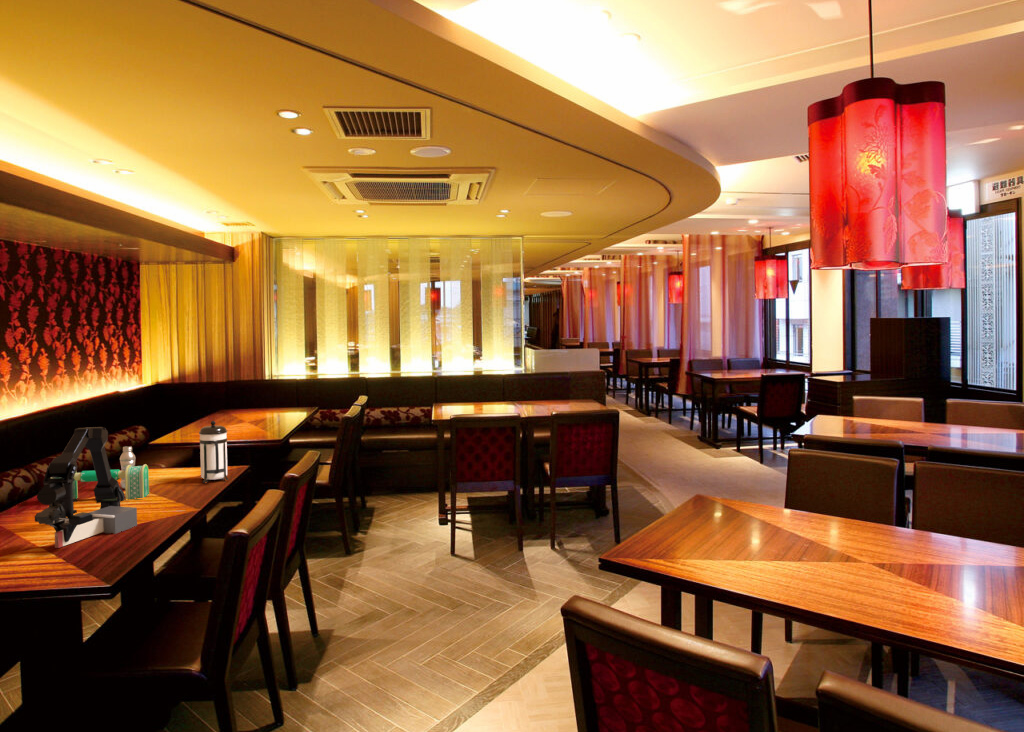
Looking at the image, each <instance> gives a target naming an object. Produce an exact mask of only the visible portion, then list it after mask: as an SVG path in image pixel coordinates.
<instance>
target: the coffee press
mask: <svg viewBox="0 0 1024 732" xmlns="http://www.w3.org/2000/svg"><path fill="white" fill-rule="evenodd" d="M227 434H228V430H227V428H226V427H225V426H223V425H216V421H215V420H212V421H210V425H206V426H203V427H202V428H200V429H199V431H198V435H199V449H200V452H199V454H200V456H199V457H200V479H201V478H203V479H204V480H202V483H203V484H206V483H205V482H207V483H208V482H209V481H211V480H214V481H215V480H223V481H224V480H225V479H226V480H228V481H229V478H228V477H227V476H228V448H227V447H228V445H227V444H228V443H227V442H228V437H227Z"/></svg>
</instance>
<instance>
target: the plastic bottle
mask: <svg viewBox="0 0 1024 732" xmlns="http://www.w3.org/2000/svg"><path fill="white" fill-rule="evenodd" d="M119 463H120V467H121V471H125V470H126V467H127V466H128V465H131V466H136V455H135V454H134V452H133V447H132V446H131V445H127V446H123V447H122V453H121V455H120V457H119ZM120 488H121V489H122V490H123V489H124V490H125V478H120Z"/></svg>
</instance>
